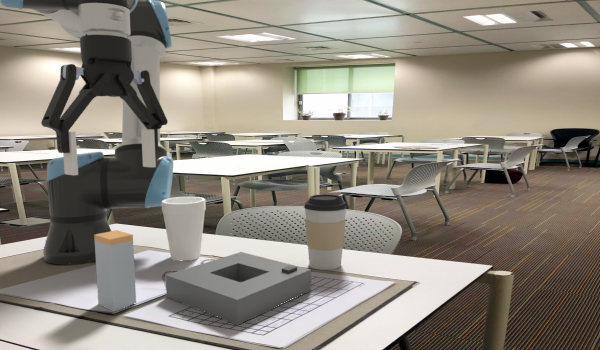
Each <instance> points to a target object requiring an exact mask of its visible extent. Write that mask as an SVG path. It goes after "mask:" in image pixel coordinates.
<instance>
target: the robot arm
mask: <svg viewBox="0 0 600 350" xmlns="http://www.w3.org/2000/svg"><path fill="white" fill-rule="evenodd" d="M0 4H1V5H2V6H4V7H6V8H13V9H18V10H24V9H26V10H27V9H28V10H29V9H31V10H33V11H35V12H37V13H40V14H41V15H43V16H45V17H47V18H48V19H51V20H53V21H54V22H56V23H57V24H60V26H61V28H62V29H63V30H64V31H65V32H66V33H67V34H69V35H71V36H73V37H75V38H77V39H79V46H80V47H79V48H80V59H81V62H82V63H81V67H80V66H76V65H75V64H74V63H71V64H64V65H61V66H60V76H59V77H60V79H59V81H58V83H57V86H56V88H55V89H54V93H53V95H52V97H51V99H50V102H49V104H48V106H47V108H46V111H45V113H44V116H43V117H42V119H41V122H40V123H41V125H42V127H44V128H49V129H52V130H53V131H55V134H56V135H55V136H56V148H57V149H56V150H57V152H58V153H59V154H62V155H63V156H60V157H55V158H52V159H50V160H49V161H48V163H47V165H46V176H47V177H46V180H45V181H46V183H47V195H48V196H47V197H48V208H49V220H50V221H49V222H50V224H49V229H48V232H47V236H46V238H45V239H46V240H45V243H44V245H43V246H44V247H43V253H42V254H43V260H44V261H45V262H46V263H48V264H53V265H79V264H80V265H81V264H86V263H92V262H93V263H94V262H96V255H95V239H94V235H95V234H100V233H105V232H110V231H112V229H111V226H110V224H109V222H108V217H107V215H108V214H107V210H108V209H109V210H110V209H111V210H113V209H130V208H131V209H133V208H136V209H137V208H145V209H149V208H155V207H162V200H164V199H169V198H171V192H172V184H173V177H174V158H172V156H169V155H168V151H167V149H166V147H164V146H163V145H162V143H161V129H162V128H163V127H162V126H167V125H168V122H169V121H168V119H167V116H166V114H165V112H164V110H163V107H162V105H161V93H160V92H161V91H160V90H161V89H160V88H161V83H160V82H161V81H160V79H161V78H160V77H161V76H160V75H161V73H160V71H161V67H160V66H161V65H160V64H161V63H160V62H161V60H160V59H162V58H164V56H165V55H166V51H167V49H170V48H171V47H172V46H173V44H172V37H171V36H172V35H171V30H170V25H169V18H168V12H167V7H166V5H165V3H164V2H162V1H160V0H0ZM80 78H81V79H82V80H83V81H84V85H83V87H82V88H81V89H80V90H79V92H78V95H77V96H76V97H75V99H74V100H73V101H72V103H71V104H70V105H69V106H68V107H67V109H66V110H65V108H66V106H67V103H68V101H69V99H70V96H71V94H72V91H73V89H74V87H75V85H76V81H78V80H79V79H80ZM97 97H110V98H111V97H113V98H118V97H119V98H120V99H122V129H121V133H122V135H121V143H120V144H119V145H117V146H116V147H115V149H114V157H105V155H104V152H102V151H92V152H84V153H79V154H78V152H77V151H78V149H77V134H76V131H70V129H72V128H73V126H74V125H75V123H76V122H77V120H78V119H79V118H80V117H81V115H82V114H83V113H84V111H85V110H86V109H87V108H88V106H89V105H90V103H91V102H92V101H93V99H95V98H97ZM64 110H65V111H64ZM63 112H64V113H63Z"/></svg>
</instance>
